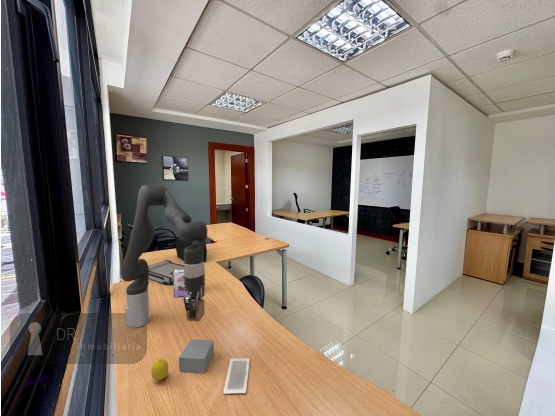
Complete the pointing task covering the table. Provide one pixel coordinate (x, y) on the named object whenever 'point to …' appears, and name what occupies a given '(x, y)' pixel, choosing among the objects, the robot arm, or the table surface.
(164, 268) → the game console
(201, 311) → the walnut block
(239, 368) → the touchpad
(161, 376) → the lemon
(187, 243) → the uninterruptible power supply
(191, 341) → the base block
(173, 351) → the table surface
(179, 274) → the candy box
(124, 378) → the table surface
